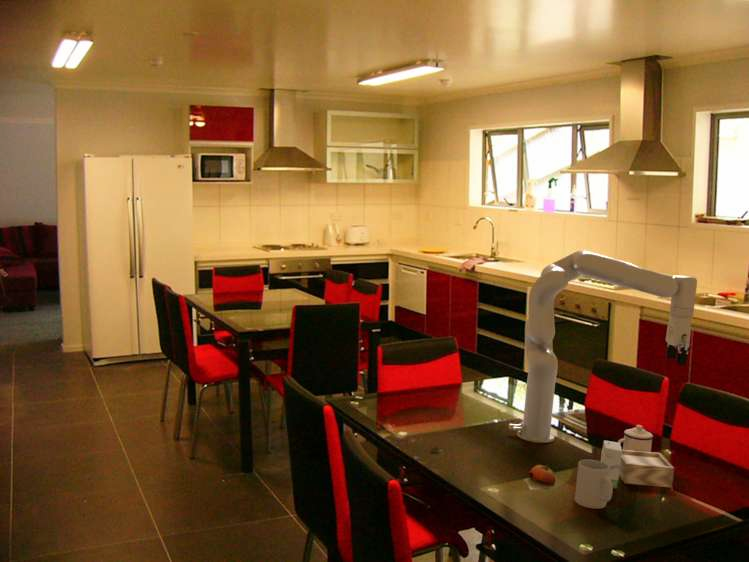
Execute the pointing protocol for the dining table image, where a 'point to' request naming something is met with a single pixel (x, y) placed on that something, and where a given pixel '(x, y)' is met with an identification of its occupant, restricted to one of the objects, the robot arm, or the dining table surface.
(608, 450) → the ink box
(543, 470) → the tomato
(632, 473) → the tray
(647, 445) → the teacup with lid
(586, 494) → the mug
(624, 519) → the dining table surface
